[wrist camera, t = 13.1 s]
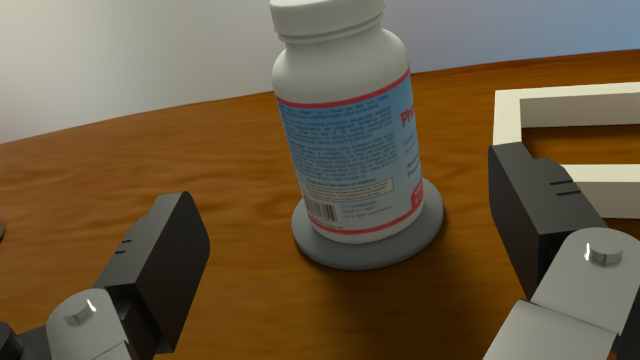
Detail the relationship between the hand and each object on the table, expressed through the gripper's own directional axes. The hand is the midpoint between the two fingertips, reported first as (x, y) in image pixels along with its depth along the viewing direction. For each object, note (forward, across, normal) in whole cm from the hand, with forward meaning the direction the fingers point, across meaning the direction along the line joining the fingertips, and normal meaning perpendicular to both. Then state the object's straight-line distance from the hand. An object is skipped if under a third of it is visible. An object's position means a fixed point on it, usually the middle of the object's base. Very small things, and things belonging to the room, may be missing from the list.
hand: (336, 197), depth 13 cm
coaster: (+10, 0, +8) cm, 13 cm away
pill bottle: (+10, 0, +8) cm, 13 cm away
